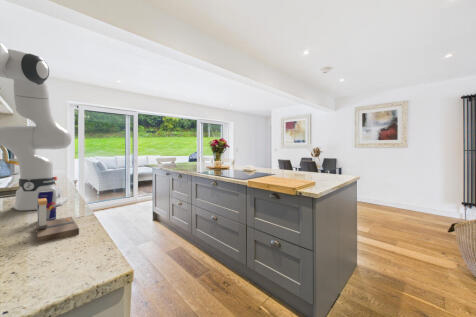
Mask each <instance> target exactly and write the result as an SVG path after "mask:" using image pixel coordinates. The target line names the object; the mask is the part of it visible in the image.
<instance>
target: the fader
mask: <svg viewBox="0 0 476 317" xmlns="http://www.w3.org/2000/svg"><path fill="white" fill-rule="evenodd" d="M46 204H47V199H46V198H42V199H38V205H39V223H38V222H37V223H38V227H39V229H43V228H47V222H46Z"/></svg>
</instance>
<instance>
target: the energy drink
mask: <svg viewBox="0 0 476 317" xmlns="http://www.w3.org/2000/svg"><path fill="white" fill-rule="evenodd" d="M42 198H46V199H47V204H46V221H50V220H55V219H57V206H56V191H55V190H53V189H51V190H41V191H38V193H37V206H38V209H37V223H38V222H39V205H38V199H42Z"/></svg>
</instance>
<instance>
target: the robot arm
mask: <svg viewBox="0 0 476 317" xmlns="http://www.w3.org/2000/svg"><path fill="white" fill-rule="evenodd" d="M49 76H50V69H49V66H48V63H47V62H46V61H45V60H44V59H43V58H42V57H40V56H38V55H35V54H32V53H27V52H23V51H20V50H15V49H11V48H6V47H5V45H4V44H2V43H1V42H0V77H1V78H5V79H10V80H13V95H14V96H13V98H14V104H15V110H16V113H18V115H19V116H21V117H23V118H25V119H28V120H30V121H32V122H33V123H34V125H35V126H34V125H22V124H21V125H18V124H14V125H13V124H12V125H3V126H0V146H2V147H3V148H5V149H6V150H8V151H9V152H11V153H12V154H13V155H14V156H15V158H16V159H17V162H18V167H19V175H20V176H19V179H18V187H19V188H18V189H17V190H16V191H15V199H14V200H15V201H14V204H13V205H11V209H14V210H15V211H33V210H34V211H35V210H37V211H38V206H37V193H38V191H41V190H51V189H53V190H55V191H56V207H60V206H63V204H65V203H66V202H67V201H68V200H69V197H67V196H63V190H62V188H61V187H59V186H57V184H56V181H58V177H57V176H53V162H52V160H50V158H47V157H45V156H43V155H40V154H38V153H37V151H36V150H61V149H62V150H63V149H67V148H68V147H69V146H70V145H71V142H72V135H71V133H70V132H69V131H68V130H67V129H65V128H64V127H62V126H60V125H59V123H58V122H56V120H55V119H54V117H53V115H52V112H51V106H50V97H49V90H48V86H47V82H46V81H47V80H48V78H49Z"/></svg>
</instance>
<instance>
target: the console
mask: <svg viewBox="0 0 476 317" xmlns="http://www.w3.org/2000/svg"><path fill="white" fill-rule="evenodd" d="M46 222H47V228H43V229H39V227H38V223H39V222H38V221H37V222H35V232H36V233H35V234H36V243H37V244H42V243H46V242H50V241H54V240H55V241H56V240H58V239H63V238H68V237H72V236H77V235H79V234H80V227H79V226H78V224H77V223H76V221H75V220H74V218H73V216H67V217H62V218H61V217H60V218H56V219H55V220H50V221H46Z"/></svg>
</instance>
